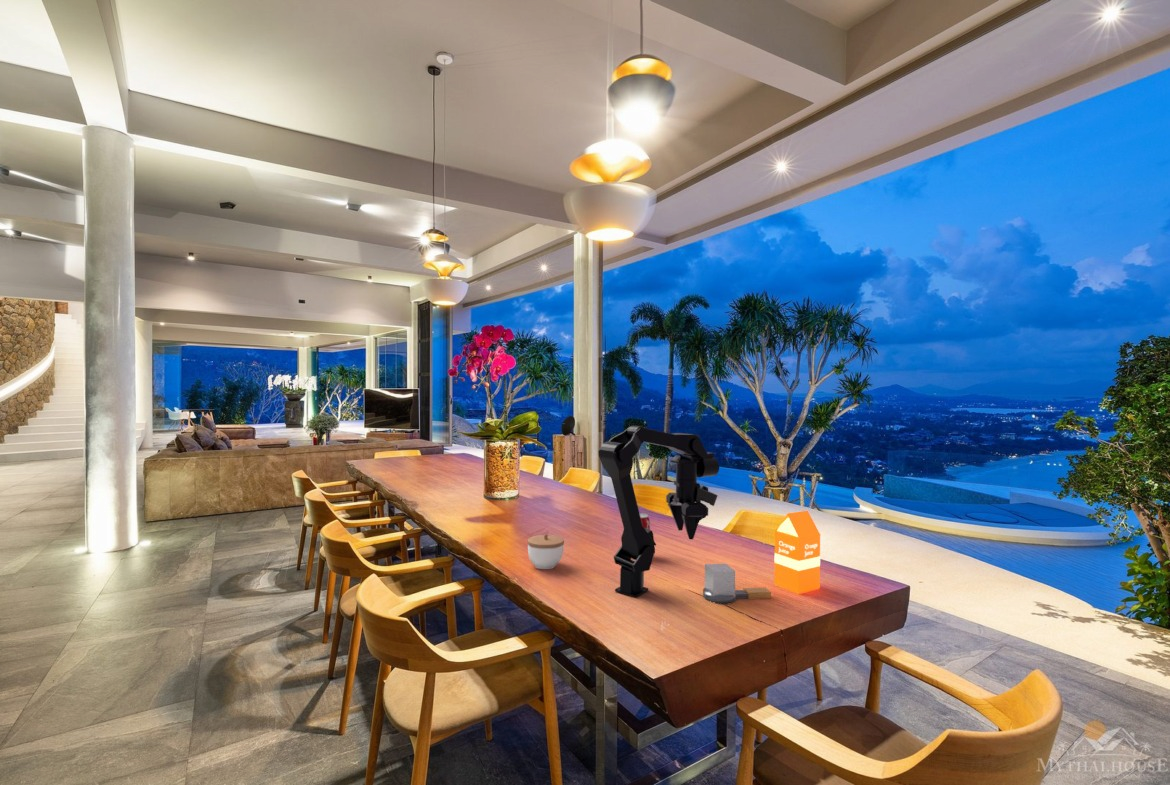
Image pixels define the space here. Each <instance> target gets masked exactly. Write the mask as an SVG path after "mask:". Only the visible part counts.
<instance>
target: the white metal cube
mask: <svg viewBox="0 0 1170 785" xmlns="http://www.w3.org/2000/svg"><path fill="white" fill-rule="evenodd" d="M704 588H705V589H706V590H707V591H708V592H709V593H710V594H711V595H712V596H735V590H736V570H734V569H733V568H732V567H730V566H729V565H728V564H727V563H705V564H704Z"/></svg>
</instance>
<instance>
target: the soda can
mask: <svg viewBox="0 0 1170 785" xmlns="http://www.w3.org/2000/svg"><path fill="white" fill-rule="evenodd" d="M639 513H640V517H641V522H642V525H643V527H644V528H646V529H648V530H651V519H650V516H649V514H647V513H645V512H644V513H643V512H639Z"/></svg>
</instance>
